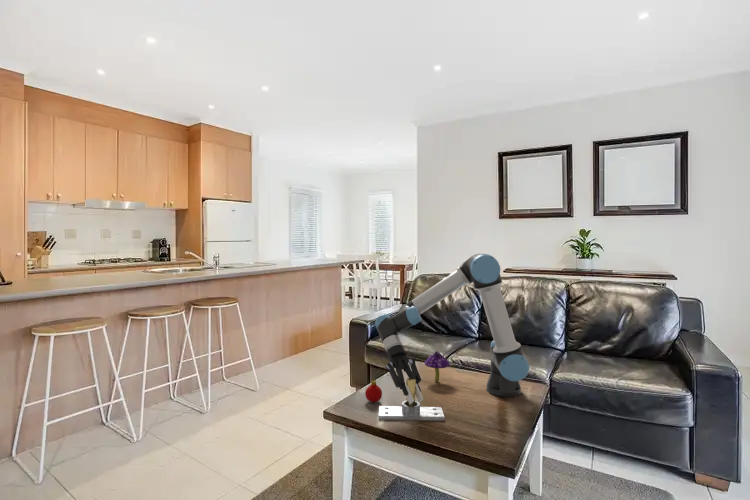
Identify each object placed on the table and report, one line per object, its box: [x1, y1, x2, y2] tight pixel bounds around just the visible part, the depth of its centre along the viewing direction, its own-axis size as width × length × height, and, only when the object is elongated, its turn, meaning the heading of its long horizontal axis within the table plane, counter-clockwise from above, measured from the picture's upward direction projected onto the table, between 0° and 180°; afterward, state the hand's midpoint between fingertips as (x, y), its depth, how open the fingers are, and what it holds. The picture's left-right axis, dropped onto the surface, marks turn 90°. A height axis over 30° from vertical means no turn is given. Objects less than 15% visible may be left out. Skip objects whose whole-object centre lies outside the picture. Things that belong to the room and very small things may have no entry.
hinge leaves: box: [378, 400, 445, 422], centre depth 159 cm, size 25×9×4 cm, turn 88°
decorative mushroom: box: [423, 350, 451, 383], centre depth 197 cm, size 12×12×15 cm
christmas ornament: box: [364, 377, 383, 403], centre depth 172 cm, size 7×7×10 cm
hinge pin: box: [405, 377, 416, 406], centre depth 159 cm, size 4×4×11 cm
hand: (416, 401), depth 155 cm, fingers closed on hinge pin, 3 cm apart
